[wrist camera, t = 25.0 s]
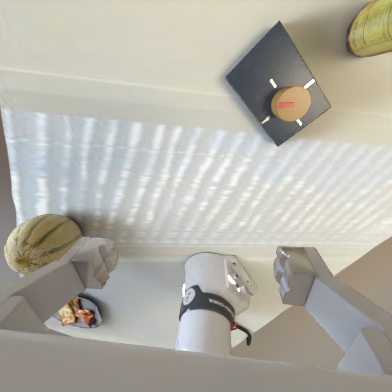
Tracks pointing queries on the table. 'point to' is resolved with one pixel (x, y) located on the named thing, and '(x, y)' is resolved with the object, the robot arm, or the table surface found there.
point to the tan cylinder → (291, 103)
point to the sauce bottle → (371, 30)
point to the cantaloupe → (40, 242)
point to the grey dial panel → (275, 83)
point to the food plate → (79, 314)
